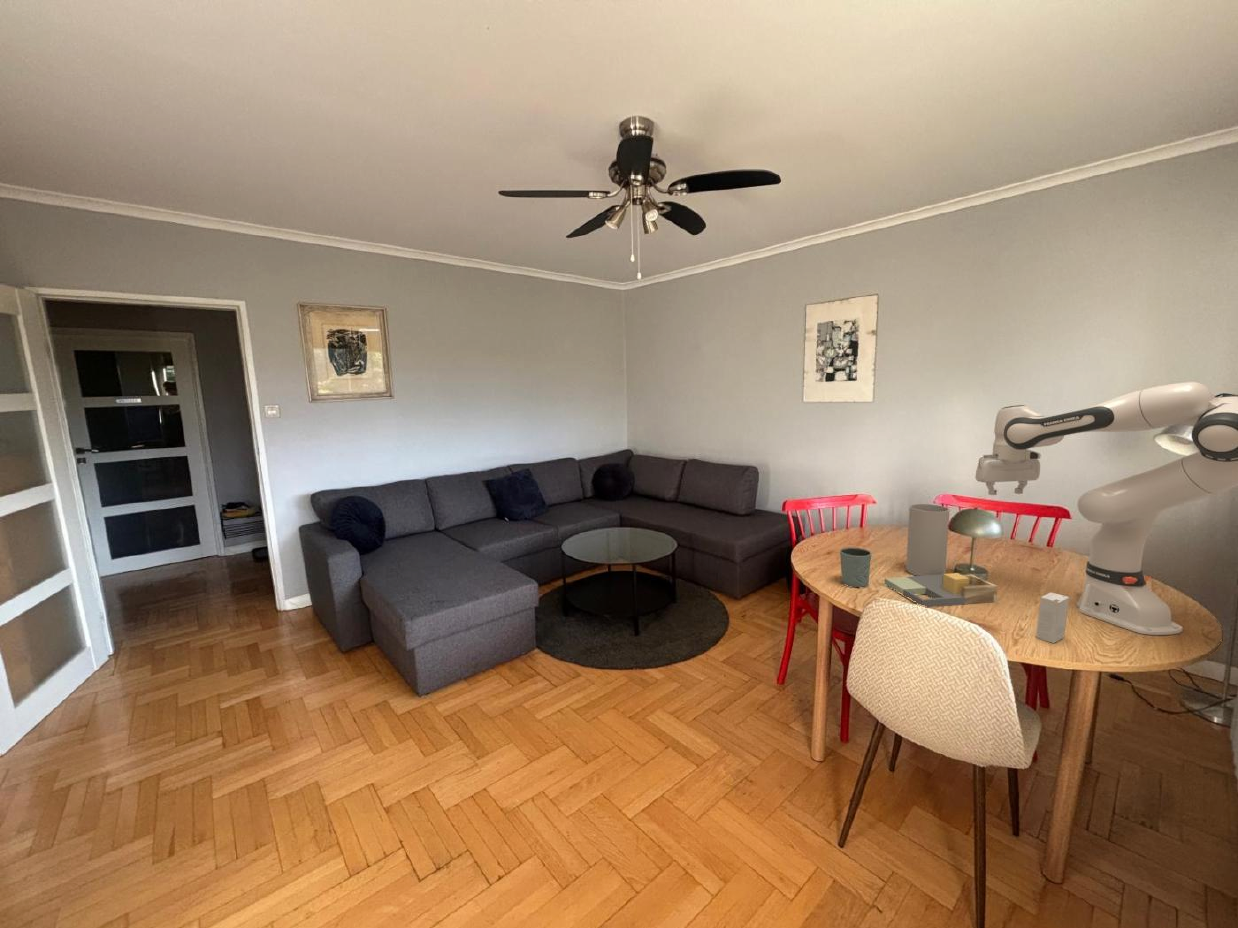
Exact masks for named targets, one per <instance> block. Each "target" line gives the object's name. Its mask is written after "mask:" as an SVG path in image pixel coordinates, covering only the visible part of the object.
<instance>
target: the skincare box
mask: <svg viewBox="0 0 1238 928" xmlns="http://www.w3.org/2000/svg"><path fill="white" fill-rule="evenodd" d="M1069 602H1070V597H1069V596H1068V595H1067V596H1066V595H1063V594H1059V593H1054V592H1048V593H1047V594H1045V595H1042V596H1040V602H1039V611H1038V616H1037V626H1036V635H1035V637H1036V638H1038V639H1040V640H1043V641H1046V642H1049V643H1051V644H1052V643H1053V644H1055V643H1057V642H1058V641H1060V640H1062V639H1064V638H1065V635H1066V626H1067V625H1066V624H1067V618H1068V617H1067V616H1068V610H1069Z"/></svg>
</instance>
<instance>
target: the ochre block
mask: <svg viewBox="0 0 1238 928" xmlns="http://www.w3.org/2000/svg"><path fill="white" fill-rule="evenodd" d="M963 575H964V574H961V573H959V572H953V573H952V572H951V573H945V574H943V589H945V590H947V591H949V592H951V593H953V594H961V593H962V587H963V586H969V578H967V577H965V576H963Z"/></svg>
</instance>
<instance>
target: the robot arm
mask: <svg viewBox="0 0 1238 928" xmlns="http://www.w3.org/2000/svg"><path fill="white" fill-rule="evenodd" d="M994 421H995V423H994V430H993V431H994V437H995V439H994V441H993V445H992V454H984V455H982V456H981V457H980V458H979V459H978V463H977V467H976V469H975V470H976V472H975V476H974V477H975V480H976V481H977V482H979V483H985V486H986V488H987V489H988V495H990V496H996V495H997V492H998V489H995V487H994V486H995V484H996V483H1004V482H1005V483H1006V482H1007V483H1008V482H1017V483H1018V485H1017V487H1015V488H1014V494H1017V495H1021V494H1024V489H1025V488H1026V486H1027V485H1028V481H1037V480H1038V479H1039V478H1040V473H1041V463H1040V459H1041V456H1042V455H1041V453H1040V452H1037V451H1034V450H1030V449H1031V448H1032V449H1033V448H1040V447H1041V448H1042V447H1050V446H1053V445H1056V444H1058V443H1059V442H1061V441H1062V440H1063V439H1064V437H1065V436H1069V435H1070V436H1071V435H1074V434H1080V433H1090V432H1091V433H1093V432H1095V433H1097V432H1098V433H1099V432H1100V433H1101V432H1106V433H1112V432H1115V433H1118V432H1119V433H1120V432H1123V433H1125V432H1126V433H1128V432H1129V433H1130V432H1140V431H1142V432H1143V431H1149V430H1156V429H1162V428H1166V427H1170V426H1188V427H1189V426H1190V427H1192V430H1191V440H1192V442H1193V444H1194V445H1195V447H1196V448H1197V449H1198V450H1199V451H1197V452H1195V453H1194V452H1193V453H1191V454H1189V455H1187V456H1184V457H1181V458H1178V459H1176V460H1174V461H1171V462H1167V463H1165V464H1163V465H1161V466H1158V467H1156V468H1152V469H1150V470H1147V471H1144V472H1141V473H1138V474H1135V475H1131V476H1128V477H1124V478H1123V479H1119V480H1116V481H1113V482H1110V483H1107V484H1104V485H1101V486H1099V487H1096V488H1093V489H1091V490H1088V491H1086V492H1084V493H1083V494H1082V495H1081V496H1080V497H1079V498H1078V501H1077V509H1078V512H1079V514H1080V516H1082V517H1083V518H1084V519H1085V520H1086V521H1087V520H1088V522H1091V523H1095V524H1101V525H1100V527H1099V529H1098V530H1097V531H1096V532H1095V533H1094V534H1093V536H1092V538H1091V540H1090V547H1089V558H1088V560H1087V562H1086V566H1085V574H1086V578H1085V583H1084V586H1083V588H1082V589H1083V590H1082V592H1081V595H1080V597H1079V598H1078V601H1077V602H1076V606H1077V607H1078V613H1081V614H1084V615H1087V616H1088V617H1089V616H1090V617H1091V618H1094V619H1098V620H1100V621H1103V622H1106V623H1109V624H1112V625H1113V626H1117V627H1120V628H1122V629H1126V630H1128V631H1132V632H1134V633H1138V634H1142V635H1152V636H1166V635H1177V634H1180V633H1182V632H1183V626H1182V625H1180V624H1178V623H1176V622H1174V621H1172V612H1171V608H1170V607H1169V605H1168V604H1167V603H1166V602H1165V601H1164V600H1163V599H1162V598H1160V597H1159V595H1157V594H1156V593H1155V592H1154V591H1153V590H1152V589H1151V588H1150V587H1149V586H1148V585H1147V582H1148V581H1151V578H1152V576H1145V574H1144V573H1143V570H1142V569H1141V568H1142V561H1143V556H1144V555H1143V554H1144V548H1145V544H1146V541H1147V539H1148V537H1149V535H1150V532H1151V530H1152V528H1153V525H1154V524H1155V522H1156V520H1157V518H1158V517H1159V515H1160V514H1161V513H1162V512H1163V511H1165V510H1169V509H1172V508H1177V507H1181V506H1184V505H1186V504H1190V503H1192V502H1193V503H1194V502H1197V501H1199V500H1202V499H1206V498H1208V497H1212V496H1214V495H1216V494H1217V495H1218V494H1221V493H1223V492H1226V491H1229V490H1231V489H1234V488H1236V487H1238V394H1235V393H1226V392H1222V393H1219V394H1215V395H1214V393H1213V391H1212V390H1211V388H1209V387H1208V386H1207V385H1205V384H1203V383H1201V382H1198V381H1197V382H1196V381H1188V382H1187V381H1186V382H1178V383H1176V382H1175V383H1171V384H1162V385H1158V386H1152V387H1148V388H1144V389H1140V390H1135V391H1132V392H1129V393H1125V394H1123V395H1120V396H1117V397H1113V398H1110V399H1108V400H1106V401H1105V400H1104V401H1103V402H1100V403H1097V404H1094V405H1092V406H1087V407H1086V408H1082V409H1079V410H1075V411H1071V412H1066V413H1065V412H1064V413H1061V414H1057V415H1056V414H1055V415H1052V416H1050V415H1046V414H1043V413H1039V412H1037V411H1036V410H1032V409H1031V408H1030V407H1029V406H1027V405H1023V404H1019V405H1010V406H1004V407H1001V408H1000V409H999V410H998V411H997V414H996V418H995V420H994Z"/></svg>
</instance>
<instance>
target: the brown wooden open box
mask: <svg viewBox="0 0 1238 928" xmlns="http://www.w3.org/2000/svg"><path fill="white" fill-rule="evenodd" d="M962 575H963V576H965V577H967V578H969V585H971V584H972V585H974V586H963V587H962V593H961V596H963V597H965V601H966V600H967V599H969V598H970V599H971V600H967V601H966V602H967V604H966V602H965V604H964V605H972V604H973V603H974V604H975V605H977V604H987V603H988V604H989V603H997V598H998V585H996V584H994V583H991V582H989V581H988V580H985V579H983V578H980V577H978V576H976V575H975V574H970V573H968V574H962ZM942 585H943V578H942ZM979 596H980V597H979ZM984 596H985V597H984ZM988 596H989V597H988ZM991 596H992V597H991ZM974 597H975V598H974ZM977 598H978V599H979V600H978V599H977ZM982 598H983V600H982ZM985 598H986V599H987V598H989V600H988V599H987V600H988V601H989V602H988V601H987V600H985ZM995 598H996V599H995ZM974 599H976V600H975V601H976V602H973V601H974ZM980 599H981V601H982V602H981V601H980ZM990 599H991V600H990ZM993 599H994V600H993ZM972 600H973V601H972ZM992 600H993V601H992ZM985 602H986V603H985Z"/></svg>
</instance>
